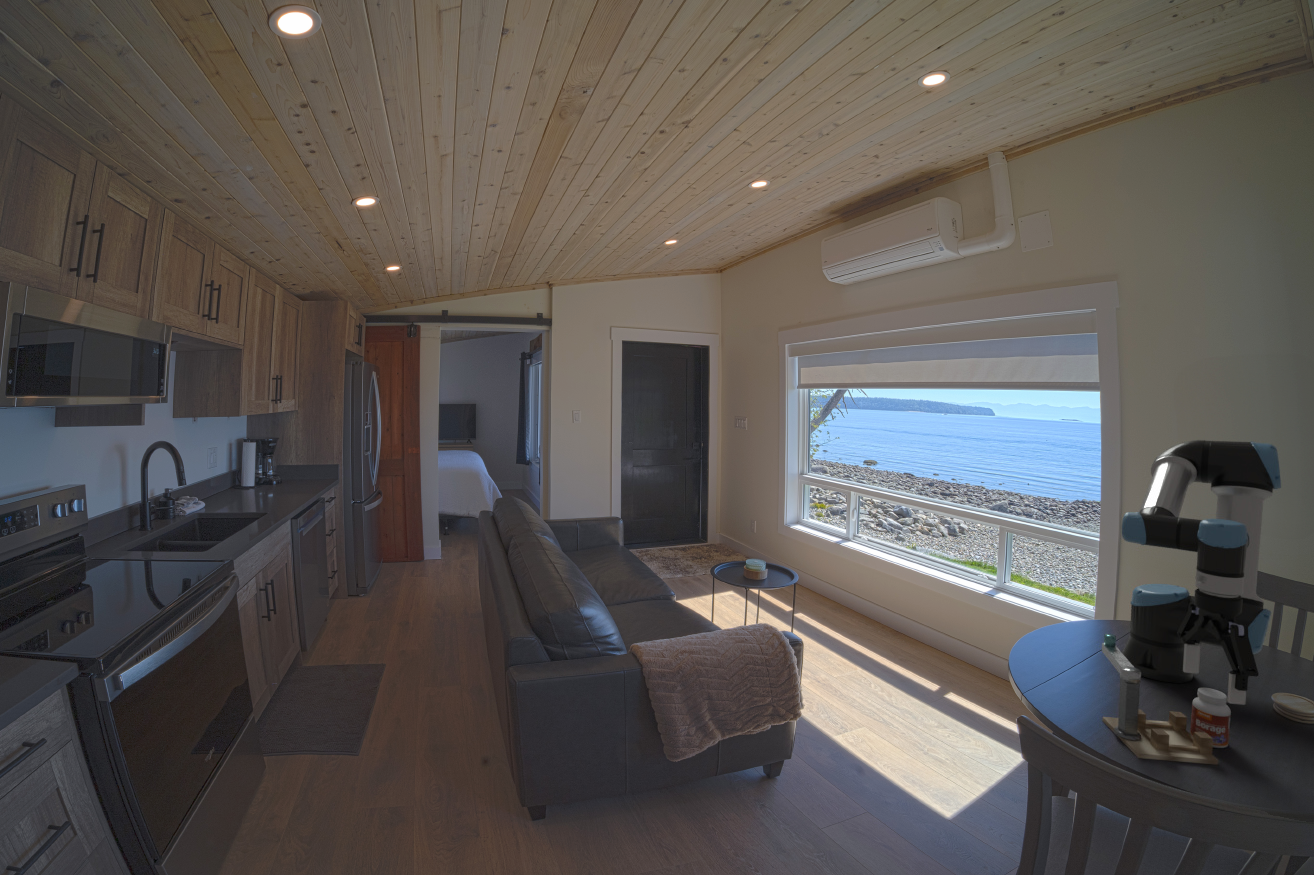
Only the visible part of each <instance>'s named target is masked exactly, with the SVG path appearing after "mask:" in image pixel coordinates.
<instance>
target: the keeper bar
mask: <svg viewBox="0 0 1314 875" xmlns="http://www.w3.org/2000/svg"><path fill="white" fill-rule="evenodd" d="M1103 637H1104V638H1103V642H1102V643H1101V652H1102V653H1103V654H1104V656H1105V657H1106V658H1107V660H1108V661H1109V662H1110V663H1111V665H1113V667H1114V668H1115V670H1116V671H1117V673H1118V674H1119V679H1120V678H1121V679H1122V680H1124V681H1126V682H1129V683H1139V684H1140V683H1141V680H1142V676H1141V671H1140V670H1139V669H1137V668H1134V666H1133V665H1132V664H1131V663H1130V662H1129V661H1128V659H1127V658H1126V657H1125V656H1124V655H1123V654H1122V652H1121V650H1120V649H1119V648H1118V647H1117V644H1116V642H1117V641H1116V640H1117V636H1116V635H1114V634H1111V633H1105V634H1104V636H1103Z"/></svg>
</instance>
